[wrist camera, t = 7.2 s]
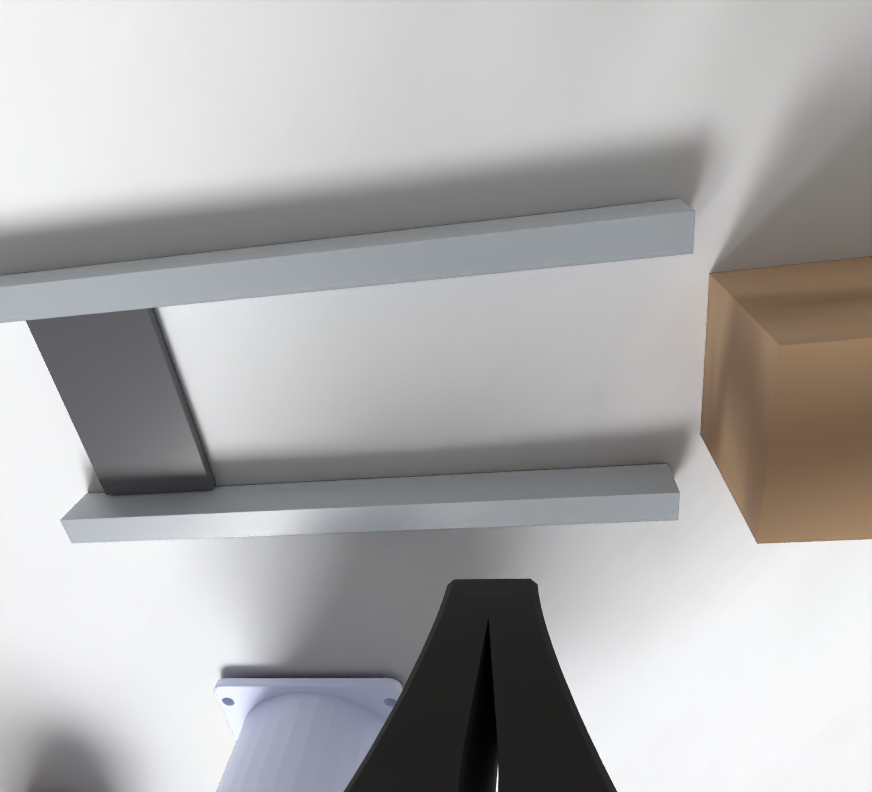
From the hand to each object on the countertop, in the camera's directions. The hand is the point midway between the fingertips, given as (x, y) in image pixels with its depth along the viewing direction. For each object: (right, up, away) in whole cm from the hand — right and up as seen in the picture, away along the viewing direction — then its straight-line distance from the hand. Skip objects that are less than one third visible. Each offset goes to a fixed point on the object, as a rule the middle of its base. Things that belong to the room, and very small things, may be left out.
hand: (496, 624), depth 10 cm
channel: (-4, +4, +9) cm, 11 cm away
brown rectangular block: (+10, +5, +7) cm, 13 cm away
